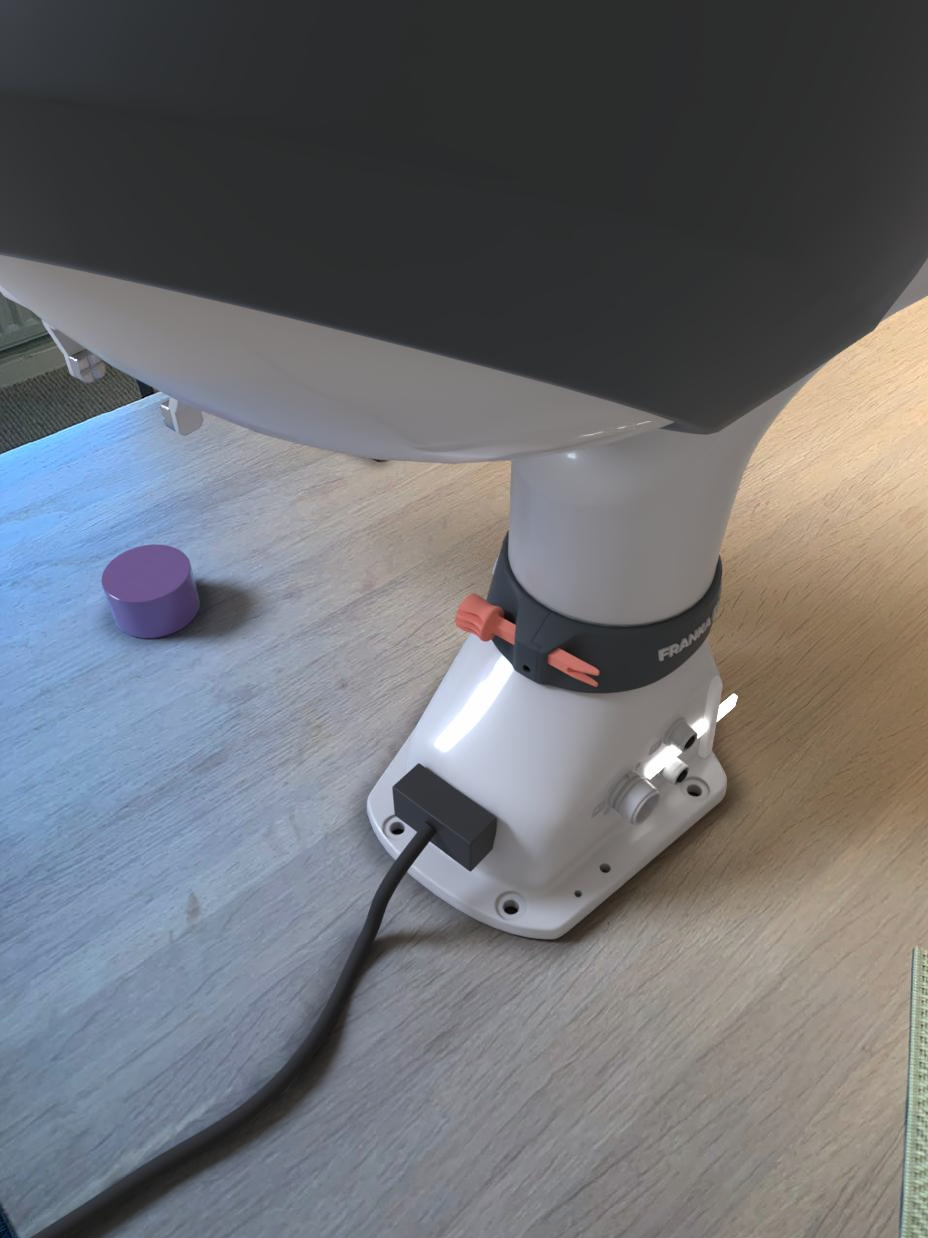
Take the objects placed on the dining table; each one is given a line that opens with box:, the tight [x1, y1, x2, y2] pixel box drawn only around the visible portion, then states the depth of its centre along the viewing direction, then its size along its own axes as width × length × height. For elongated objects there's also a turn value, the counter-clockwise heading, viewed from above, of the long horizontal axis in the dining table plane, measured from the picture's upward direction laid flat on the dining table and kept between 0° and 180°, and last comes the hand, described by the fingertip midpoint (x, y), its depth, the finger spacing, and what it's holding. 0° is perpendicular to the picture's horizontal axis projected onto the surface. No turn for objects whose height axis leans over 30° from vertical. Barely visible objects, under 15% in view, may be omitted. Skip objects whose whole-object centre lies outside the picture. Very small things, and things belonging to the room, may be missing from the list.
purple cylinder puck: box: [100, 544, 201, 639], centre depth 69 cm, size 6×6×4 cm
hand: (136, 401), depth 62 cm, fingers open, 8 cm apart
